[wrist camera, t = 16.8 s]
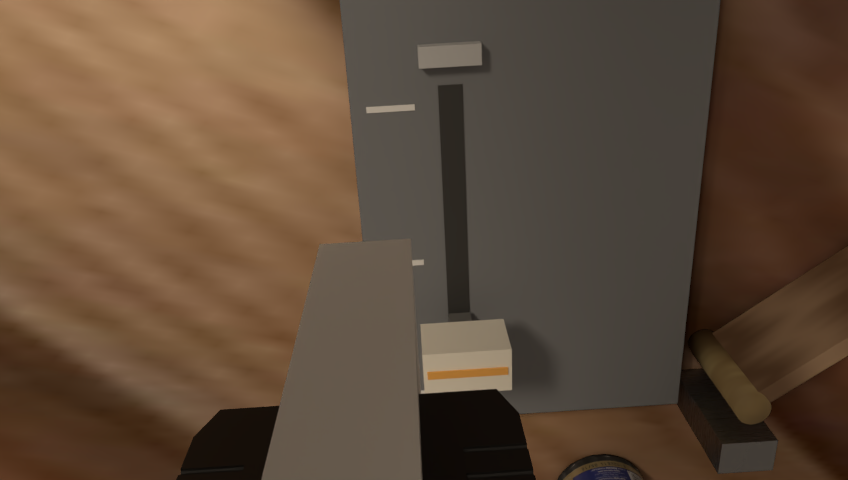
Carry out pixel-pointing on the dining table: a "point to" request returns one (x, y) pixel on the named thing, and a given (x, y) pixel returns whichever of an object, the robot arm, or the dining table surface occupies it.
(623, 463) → the pill bottle
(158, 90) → the dining table surface
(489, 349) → the fader knob
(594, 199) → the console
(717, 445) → the hinge bracket
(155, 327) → the dining table surface
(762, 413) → the door
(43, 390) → the dining table surface
